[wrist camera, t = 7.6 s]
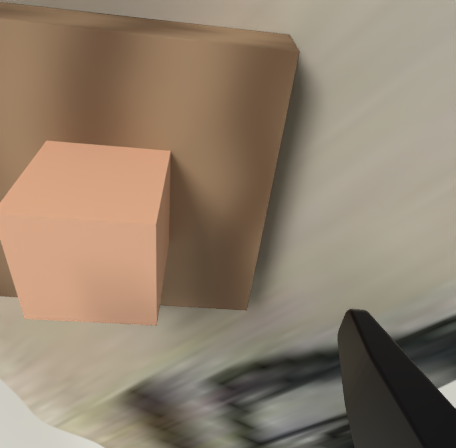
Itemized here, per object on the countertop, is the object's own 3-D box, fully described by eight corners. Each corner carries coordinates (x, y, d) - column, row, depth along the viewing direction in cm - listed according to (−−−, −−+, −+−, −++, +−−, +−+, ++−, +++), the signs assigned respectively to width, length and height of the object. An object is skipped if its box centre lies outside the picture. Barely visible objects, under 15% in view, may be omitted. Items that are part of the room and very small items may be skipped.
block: (170, 150, 17) (156, 224, 13) (168, 242, 20) (156, 325, 16) (46, 140, 16) (-9, 213, 13) (64, 235, 20) (24, 318, 16)
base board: (289, 34, 17) (299, 51, 15) (244, 278, 25) (246, 310, 23) (-73, -7, 15) (-116, 6, 13) (8, 263, 24) (-11, 295, 22)
